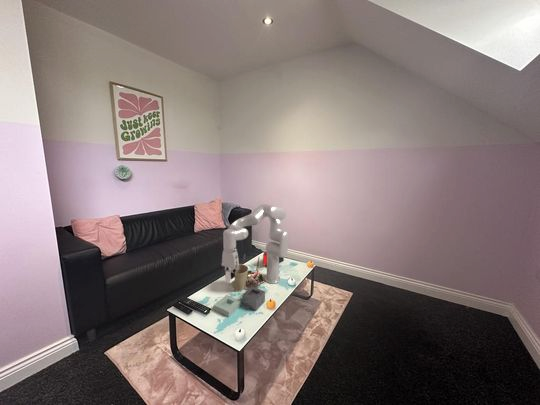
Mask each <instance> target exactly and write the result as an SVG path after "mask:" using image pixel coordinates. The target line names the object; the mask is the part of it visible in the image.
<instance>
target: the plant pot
mask: <svg viewBox="0 0 540 405" xmlns="http://www.w3.org/2000/svg"><path fill="white" fill-rule="evenodd" d="M238 267H239V270H237V271H235V280H234V281H233V282H231V283H230V284H231V287H232V289H233V290H234V292H242V291H243V290H244V288H245V286H246V283H247V280H248V279H247V278H248V273H249V267H248V266H247V265H245V264H243V263H239V266H238ZM229 269H230V268H229ZM235 269H236V267H235Z"/></svg>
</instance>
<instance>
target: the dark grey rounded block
mask: <svg viewBox="0 0 540 405" xmlns="http://www.w3.org/2000/svg"><path fill="white" fill-rule="evenodd" d="M265 302H266V291H265V290H262V289H259V288H258V287H254V286H250V287H249V288H248V289H246V290H245V292H243V293H242V294H241V306H243V307H245V308H248V309H250V310H251V311H252V310H253V311H255V312H257V311H258V310H259V308H261V307H262V305H263V304H264V303H265Z"/></svg>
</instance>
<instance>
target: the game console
mask: <svg viewBox="0 0 540 405" xmlns="http://www.w3.org/2000/svg"><path fill="white" fill-rule="evenodd" d="M284 259H285V257H283V258H282V257H279V264H281V263H283V262H284V261H285V260H284ZM262 264H263V266H264V267H266V268H267V253H266V252H263V254H262Z"/></svg>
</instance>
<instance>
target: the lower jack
mask: <svg viewBox="0 0 540 405" xmlns="http://www.w3.org/2000/svg"><path fill="white" fill-rule="evenodd" d="M241 306H242V300H240V299H237V298H235V297H232V296H231V295H228V294H225V295H224V296H223V297H222V298H221V299H219V301H217V302H216V303H214V304H213V311H215V312H217V313H219V314H222V315H224V316H227V317H228V318H230V317H231V316H232V315H233V314H234V313H235V312H236V311H237V310H238V309H239V308H240V307H241Z"/></svg>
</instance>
